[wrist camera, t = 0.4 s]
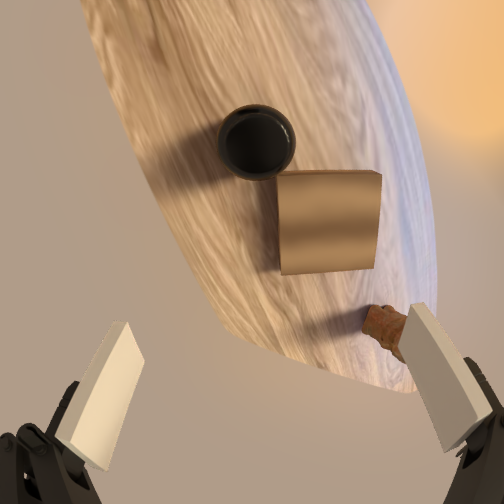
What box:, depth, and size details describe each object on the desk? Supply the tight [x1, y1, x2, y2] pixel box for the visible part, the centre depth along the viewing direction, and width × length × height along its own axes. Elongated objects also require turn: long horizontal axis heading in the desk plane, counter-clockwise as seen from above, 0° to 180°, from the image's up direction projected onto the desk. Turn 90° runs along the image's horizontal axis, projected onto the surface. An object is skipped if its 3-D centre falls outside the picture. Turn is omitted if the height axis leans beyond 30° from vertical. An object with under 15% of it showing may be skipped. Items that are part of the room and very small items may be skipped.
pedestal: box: [276, 170, 382, 276], centre depth 32 cm, size 12×12×3 cm
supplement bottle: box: [216, 104, 296, 181], centre depth 24 cm, size 7×7×12 cm
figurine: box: [362, 305, 407, 364], centre depth 33 cm, size 8×8×15 cm
